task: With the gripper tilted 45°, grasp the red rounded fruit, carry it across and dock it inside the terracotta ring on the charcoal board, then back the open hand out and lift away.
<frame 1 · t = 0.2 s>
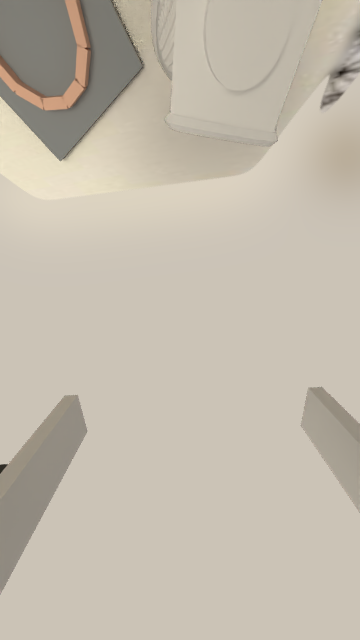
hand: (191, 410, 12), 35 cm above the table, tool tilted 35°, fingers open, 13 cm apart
dock: (36, 29, 21), on the table
skyscraper: (195, 43, 22), on the table
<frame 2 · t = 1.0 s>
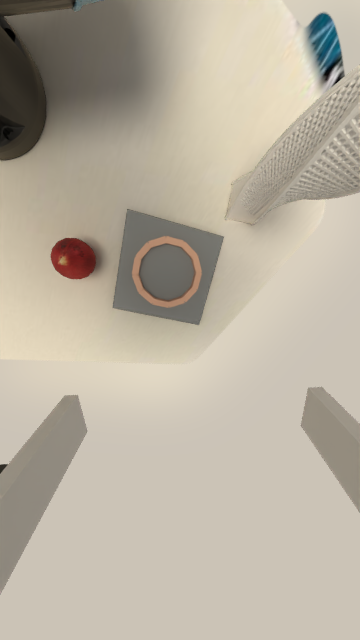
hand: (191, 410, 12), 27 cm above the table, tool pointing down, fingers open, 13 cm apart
dock: (166, 272, 35), on the table
skyscraper: (242, 203, 33), on the table
red rounded fruit: (83, 258, 33), on the table
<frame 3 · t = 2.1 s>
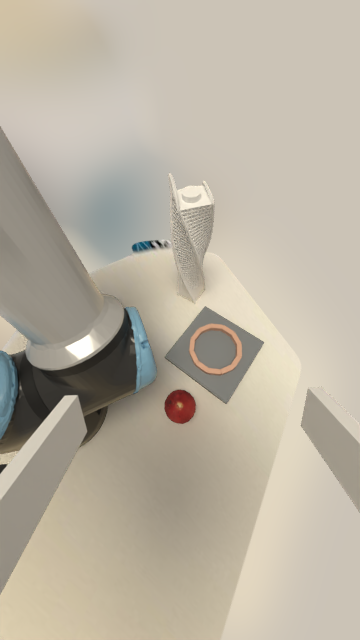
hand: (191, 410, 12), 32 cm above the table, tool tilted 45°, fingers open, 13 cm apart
dock: (214, 351, 45), on the table
skyscraper: (190, 292, 53), on the table
red rounded fruit: (180, 406, 41), on the table
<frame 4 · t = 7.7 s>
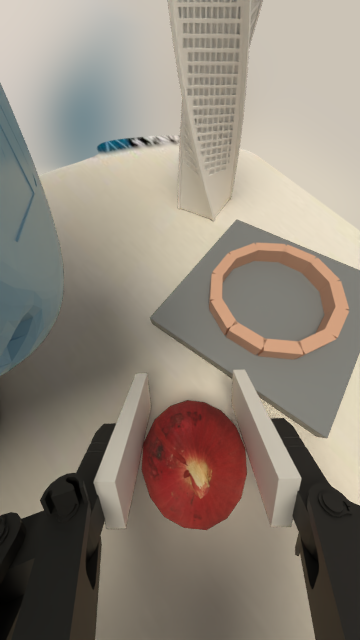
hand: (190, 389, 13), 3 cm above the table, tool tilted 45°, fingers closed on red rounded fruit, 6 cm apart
dock: (265, 305, 20), on the table
skyscraper: (203, 204, 27), on the table
red rounded fruit: (192, 446, 15), on the table, touching gripper
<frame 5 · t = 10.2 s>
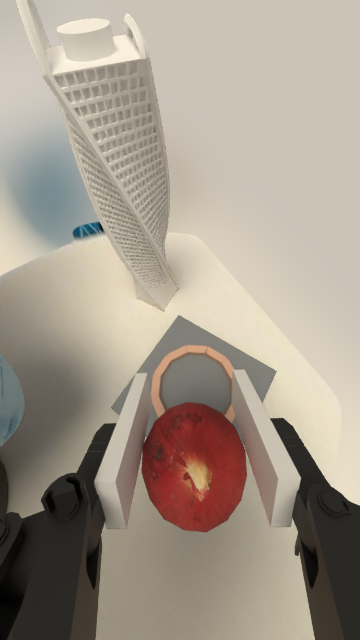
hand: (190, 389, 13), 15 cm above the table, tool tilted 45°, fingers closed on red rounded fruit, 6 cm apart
dock: (195, 390, 27), on the table
skyscraper: (156, 293, 35), on the table
red rounded fruit: (192, 447, 15), point 11 cm above the table, touching gripper
when the fingers open (6 cm above the table, at t = 12.6 s): red rounded fruit drops 1 cm, resting on dock.
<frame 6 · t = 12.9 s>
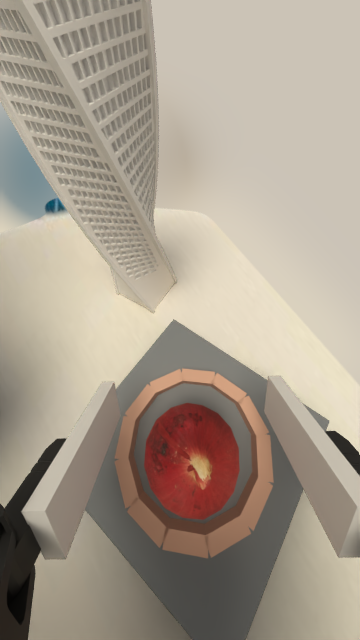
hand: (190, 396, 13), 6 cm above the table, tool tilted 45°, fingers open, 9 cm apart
dock: (192, 442, 17), on the table
skyscraper: (146, 287, 25), on the table
red rounded fruit: (187, 445, 16), point 1 cm above the table, touching dock
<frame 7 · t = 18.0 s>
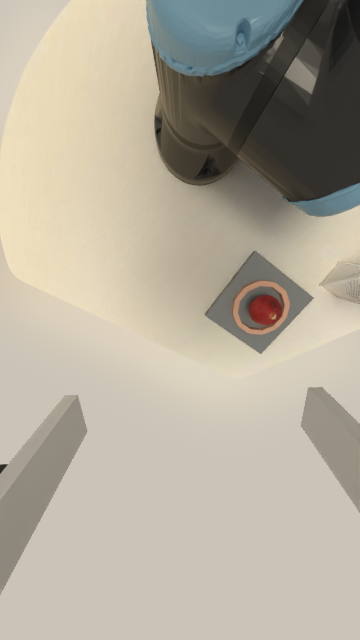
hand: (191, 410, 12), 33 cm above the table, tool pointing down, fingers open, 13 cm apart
dock: (256, 305, 43), on the table
skyscraper: (338, 278, 41), on the table
red rounded fruit: (257, 305, 42), point 1 cm above the table, touching dock
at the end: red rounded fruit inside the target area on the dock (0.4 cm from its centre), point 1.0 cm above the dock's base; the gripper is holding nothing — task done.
